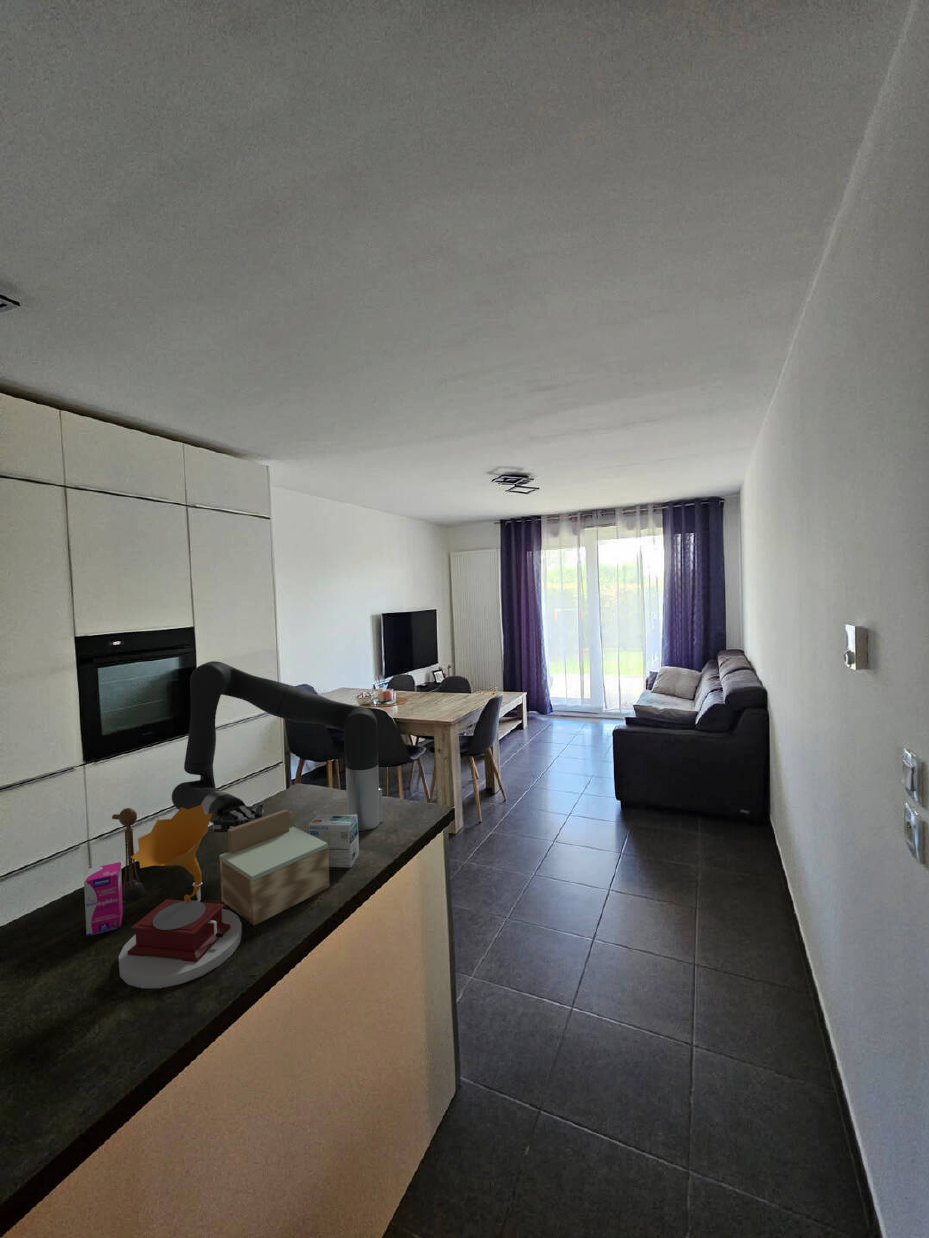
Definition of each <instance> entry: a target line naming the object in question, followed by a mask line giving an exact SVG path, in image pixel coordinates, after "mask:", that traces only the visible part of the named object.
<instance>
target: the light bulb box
mask: <svg viewBox="0 0 929 1238" xmlns="http://www.w3.org/2000/svg"><path fill="white" fill-rule="evenodd" d="M307 827H308V834H310V835H312V836H314V837H316V838H318V839H320V840H322V841H324V842H326V843H328V858H329V868H347V869H348V868H352V867H353V866H354V864H355V862H356V861H357V859H358V857H360V846H359V844H360V843H359V841H360V840H359V831H358V818H357V814H347V813H345V814H343V813H342V814H335V813H333V814H330V813H329V814H328V813H325V814H323V813H317V815H316V816H314V818H313V819H312V820H311V821H310V822H309V823H308V825H307Z"/></svg>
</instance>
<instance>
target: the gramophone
mask: <svg viewBox="0 0 929 1238" xmlns="http://www.w3.org/2000/svg"><path fill="white" fill-rule="evenodd" d="M211 816H212V813H211V814H205V813H204V810H203V807H202V805H200V806H197V807H194V808H191V809H185V808H182V807H181V808H180V809H179V810H178V809H177V812H176V813H175V814H174V815H173V816H172V817H171V818H167V819H166V818H165V819H157V820H156V822H155V824H153V827H152V829H151V830H150V832H149V833H147V834H145V835H143V836H141V837H138V838H137V842H138V851H136V852H134V855H133V856H132V857H131V858H132V859H135V861H137V862H138V863H139V869H142V868H143V869H144V868H149V867H153V866H156V867H157V866H159V867H166V866H167V867H169V866H170V867H172V866H180V867H182V868H184V869H185V870H186V871H187V872H189V874H191V875H192V877H193V878H194V882H193V883H192V886H193V892H192V893H191V894H190V895H189V894H185V895H184V896H183V900H179V899H165V900H163V902H161V903H160V904H159V905H157V906H156V907H155V908H153V909H152V910H151V911H150V912H149V913H148V914H146V915H145V916H143V917H142V918H141V919H140V920H139V921H137V922H136V923H134V925H131V926H130V929H131V930H135V934H134V935H133V936H132V937H131V938H130V939H128V940H127V942H126V943H125V944H124V945H123V946H122V949H121V951H120V953H119V954H118V968H119V978H121V979H122V980H123V982H125V983H126V985H129V986H133V987H136V988H139V987H140V988H139V989H163V987H164V988H168V987H172V986H177V985H181V984H184V983H187V982H190V981H193V980H194V979H197V978H200V977H203V976H205V975H206V974H208V973H209V972H211V971H212V970H214V969H215V968H217V967H219V966H221V965H222V964H223V963H224V962H226V960H227V959H229V958H230V957H231V956H232V955H234V953H235V951H236V949H238V947H239V945H240V944H241V941H242V935H243V927H242V926H243V925H242V922H241V920H240V917H239V915H237V914H236V913H235V912H233V911H231V910H229V909H225V907H226V904H225V903H213V902H201V899H202V897H201V896H202V895H201V893H202V892H201V885H203V882H202V880H203V879H202V870H201V867H200V864H199V862H198V859H197V857H196V853H197V851H198V849H199V846H200V844H201V841H202V838H203V837H204V836H205V835H206V834H207V833H208V832H209V825H210V823H211V822H210V819H211ZM195 895H196V900H191V898H192V897H195ZM233 952H234V953H233ZM228 957H229V958H228Z"/></svg>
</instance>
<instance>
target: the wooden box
mask: <svg viewBox="0 0 929 1238" xmlns="http://www.w3.org/2000/svg"><path fill="white" fill-rule="evenodd" d="M219 873H220V892H221V896H220V897H221V901H222V902H223V904H225V906H228V907H229V908H231V909H232V910H233V911H234V912H236V913H237V914H239V916H241V917H242V918H243V919H245V920H246V921H247V922H249V923H250V924H251V925H252V926H256V925H258V924H260V923H262V922H264V921H266V920H268V919H270V918H272V917H274V916H276V915H279V914H280V913H282V912H284V911H286V910H287V909H289V908H291V907H293V906H295V905H298V904H299V903H301V902H303V901H305V900H307V899H309V898H311V897H313V896H315V895H317V894H318V893H321V892H323V891H324V890H326V889H329V888H330V867H329V858H328V848H326V849H324V850H321V851H319V852H317V853H315V854H312V855H310V856H308V857H306V858H303V859H301V860H299V861H297V862H295V863H292V864H290V865H288V866H286V867H283V868H281V869H279V870H277V871H274V872H272V873H270V874H268V875H265V876H263V877H261V878H259V879H256V880H254V881H251V880H249V879H248V878H246V877H245V876H243V875H242V874H240V873H239V872H237V871H236V870H234V869H233V868H231V867H230V866H228V865H227V864H225V863H224V862H222V861H221V860H220V859H219Z"/></svg>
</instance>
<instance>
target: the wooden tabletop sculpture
mask: <svg viewBox="0 0 929 1238" xmlns="http://www.w3.org/2000/svg"><path fill="white" fill-rule="evenodd" d="M111 819H112V820H118V821H119V823H120V824H121V825H122V826H125V827H126V829H125V830H124V842H125V845H124V846H125V872H124V882H123V884H122V899H123V901H125V902H128V903H130V902H129V901H132V902H136V901H138V900H139V898H140V899H141V897H142V896H143V895H146V889H145V887H144V885H143V884H142V882H140V879H139V876H138V871H137V866H136V860H135V859H133V858H131V857H132V856H133V855H134V854H135V848H134V835H133V834H134V829H133V828H132V825H134V824H135V823H136V822H137V819H138V814H137V812H136V809H133V808H131V807H126V808H123V809H122V810H121V811H120V812H119V814H118V813H114V814H112V815H111ZM134 874H135V878H134ZM127 876H128V878H129V879H128V881H127ZM143 897H144V896H143ZM143 897H142V898H143ZM137 899H138V900H137Z"/></svg>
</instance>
